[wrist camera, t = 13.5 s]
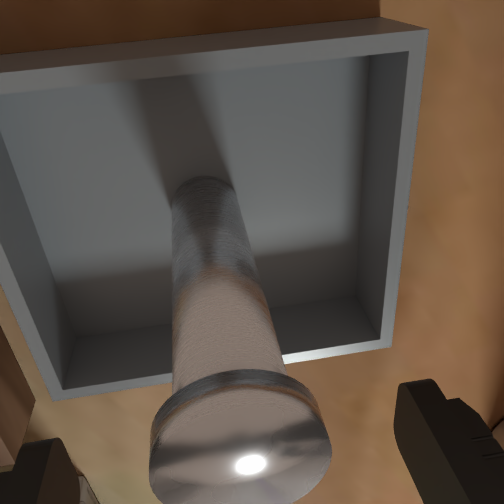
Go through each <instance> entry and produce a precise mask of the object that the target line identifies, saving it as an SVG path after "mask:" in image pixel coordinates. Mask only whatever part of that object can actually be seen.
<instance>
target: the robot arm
mask: <svg viewBox="0 0 504 504" xmlns="http://www.w3.org/2000/svg"><path fill="white" fill-rule="evenodd" d="M394 434H395V439H396V442H397V446H398V448H399V451H400V453H401V455H402V457H403V459H404V462H405V464H406V466H407V468H408V470H409V472H410V475H411V477H412V479H413V481H414V483H415V485H416V488H417V490H418V492H419V494H420V496H421V498H422V501H423V503H424V504H504V420H503V421H502V422H501V423H500V424H499V425H498V426H497V427H496V428H495V429H494V430H493V432H491V431H490V429H489V428H488V427H487V425H486V424H485V422H484V421H483V419H482V418H481V416H480V415H479V414H478V413H477V412H476V411H475V410H473V409H472V408H471V407H470V406H468V405H467V404H466V403H465V402H463V401H462V400H461V399H460V398H455V399H449V400H447V399H446V398H445V396H444V394H443V393H442V391H441V390H440V388H439V387H438V385H437V384H436V382H435V381H434V380H432V379H424V380H418V381H412V382H406V383H401V384H399V386H398V393H397V400H396V408H395V416H394ZM0 504H80V483H79V478H78V475H77V473H76V470H75V468H74V466H73V464H72V462H71V459H70V457H69V455H68V453H67V451H66V448H65V446H64V444H63V442H62V440H61V439H60V438H53V439H47V440H41V441H35V442H29V443H24V444H23V445H22V446H21V448H20V450H19V452H18V455H17V458H16V461H15V464H14V467H13V470H12V471H8V472H2V473H0Z"/></svg>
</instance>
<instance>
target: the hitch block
mask: <svg viewBox="0 0 504 504" xmlns="http://www.w3.org/2000/svg"><path fill="white" fill-rule="evenodd" d="M35 401H36V400H35V398H34V396H33V394H32V392H31V390H30V388H29V386H28V383H27V381H26V379H25V377H24V375H23V373H22V371H21V369H20V367H19V365H18V362H17V360H16V358H15V356H14V354H13V352H12V350H11V348H10V346H9V343H8V341H7V339H6V337H5V335H4V333H3V331H2V329H1V327H0V467H1V466H7V465H13V464H15V461H16V458H17V455H18V452H19V450H20V448H21V446H22V442H23V439H24V436H25V433H26V430H27V426H28V423H29V420H30V417H31V414H32V410H33V407H34V404H35Z"/></svg>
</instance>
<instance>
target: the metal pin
mask: <svg viewBox="0 0 504 504" xmlns="http://www.w3.org/2000/svg"><path fill="white" fill-rule="evenodd" d="M331 455H332V448H331V443H330V440H329V437H328V434H327V431H326V428H325V425H324V422H323V419H322V416H321V413H320V410H319V407H318V404H317V401H316V399H315V397H314V396H313V394H312V393H311V392H310V391H309V389H308V388H306V387H305V386H304V385H303V384H302V383H300V382H299V381H297V380H295V379H293V378H291V377H289V376H288V375H287V372H286V368H285V365H284V361H283V358H282V354H281V351H280V347H279V344H278V340H277V337H276V333H275V329H274V326H273V322H272V319H271V315H270V312H269V308H268V305H267V301H266V298H265V294H264V291H263V287H262V284H261V280H260V277H259V273H258V270H257V266H256V263H255V259H254V256H253V252H252V249H251V245H250V242H249V238H248V234H247V231H246V227H245V224H244V220H243V217H242V213H241V210H240V206H239V203H238V199H237V196H236V194H235V192H234V190H233V189H232V187H231V186H230V185H229V184H228V183H226V182H225V181H223V180H222V179H219V178H217V177H213V176H198V177H194V178H191V179H189V180H187V181H186V182H184V183H183V184H182V185H181V186H180V187H179V188H178V189H177V190H176V192H175V194H174V196H173V199H172V396H171V397H170V398H169V399H168V400H167V401H166V402H165V403H164V404H163V405H162V406H161V408H160V409H159V411H158V412H157V414H156V416H155V418H154V420H153V423H152V427H151V435H150V459H149V482H150V486H151V488H152V490H153V493H154V494H155V495H156V497H157V498H158V499H159V500H160V501H161V502H162V503H163V504H291V503H293V502H295V501H297V500H298V499H300V498H301V497H303V496H304V495H306V494H307V493H308V492H309V491H310V490H312V489H313V488H314V487H315V486H316V485H317V484H318V483H319V482H320V480H321V479H322V477H323V476H324V475H325V473H326V471H327V469H328V467H329V464H330V461H331Z"/></svg>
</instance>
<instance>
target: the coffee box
mask: <svg viewBox="0 0 504 504" xmlns="http://www.w3.org/2000/svg"><path fill="white" fill-rule="evenodd" d="M78 478H79V483H80V504H99V503H98V501H97V499H96V497H95V496H94V494H93V492H92V490H91V488H90V486H89V484H88V483H87V481H86V479H85V478H84V477H83V476H79V477H78Z"/></svg>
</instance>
